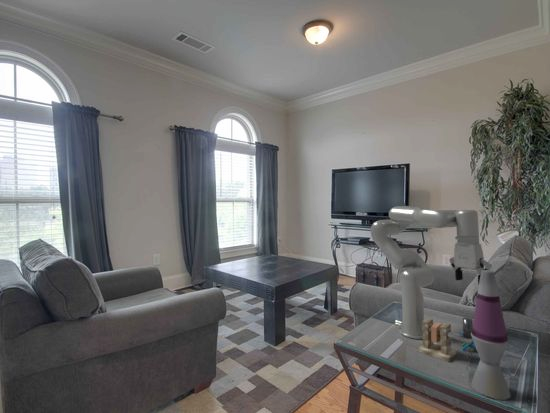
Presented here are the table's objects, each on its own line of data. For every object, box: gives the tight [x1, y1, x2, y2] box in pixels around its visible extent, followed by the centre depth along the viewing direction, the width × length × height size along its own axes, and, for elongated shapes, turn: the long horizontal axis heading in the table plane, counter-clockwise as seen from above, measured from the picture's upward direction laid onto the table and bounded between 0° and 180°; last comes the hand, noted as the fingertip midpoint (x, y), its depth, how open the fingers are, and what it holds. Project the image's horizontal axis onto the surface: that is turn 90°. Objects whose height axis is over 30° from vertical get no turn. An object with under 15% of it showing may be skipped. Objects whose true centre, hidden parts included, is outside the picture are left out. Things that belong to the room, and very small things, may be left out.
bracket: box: [417, 317, 458, 363], centre depth 123 cm, size 12×10×12 cm
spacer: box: [431, 321, 443, 344], centre depth 123 cm, size 2×6×6 cm, turn 131°
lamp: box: [470, 269, 512, 401], centre depth 98 cm, size 11×11×40 cm
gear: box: [460, 331, 476, 351], centre depth 124 cm, size 11×6×10 cm
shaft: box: [422, 317, 474, 344], centre depth 120 cm, size 19×3×9 cm, turn 42°
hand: (470, 282), depth 118 cm, fingers open, 9 cm apart
